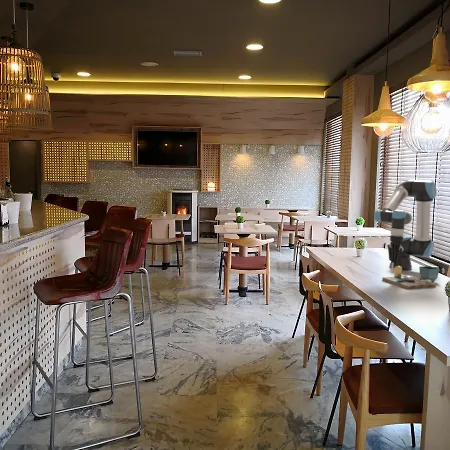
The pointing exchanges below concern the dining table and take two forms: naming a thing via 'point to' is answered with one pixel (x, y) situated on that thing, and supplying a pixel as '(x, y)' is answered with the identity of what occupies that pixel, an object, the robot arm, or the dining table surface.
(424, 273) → the flower pot
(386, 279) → the base plate
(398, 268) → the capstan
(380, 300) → the dining table surface
